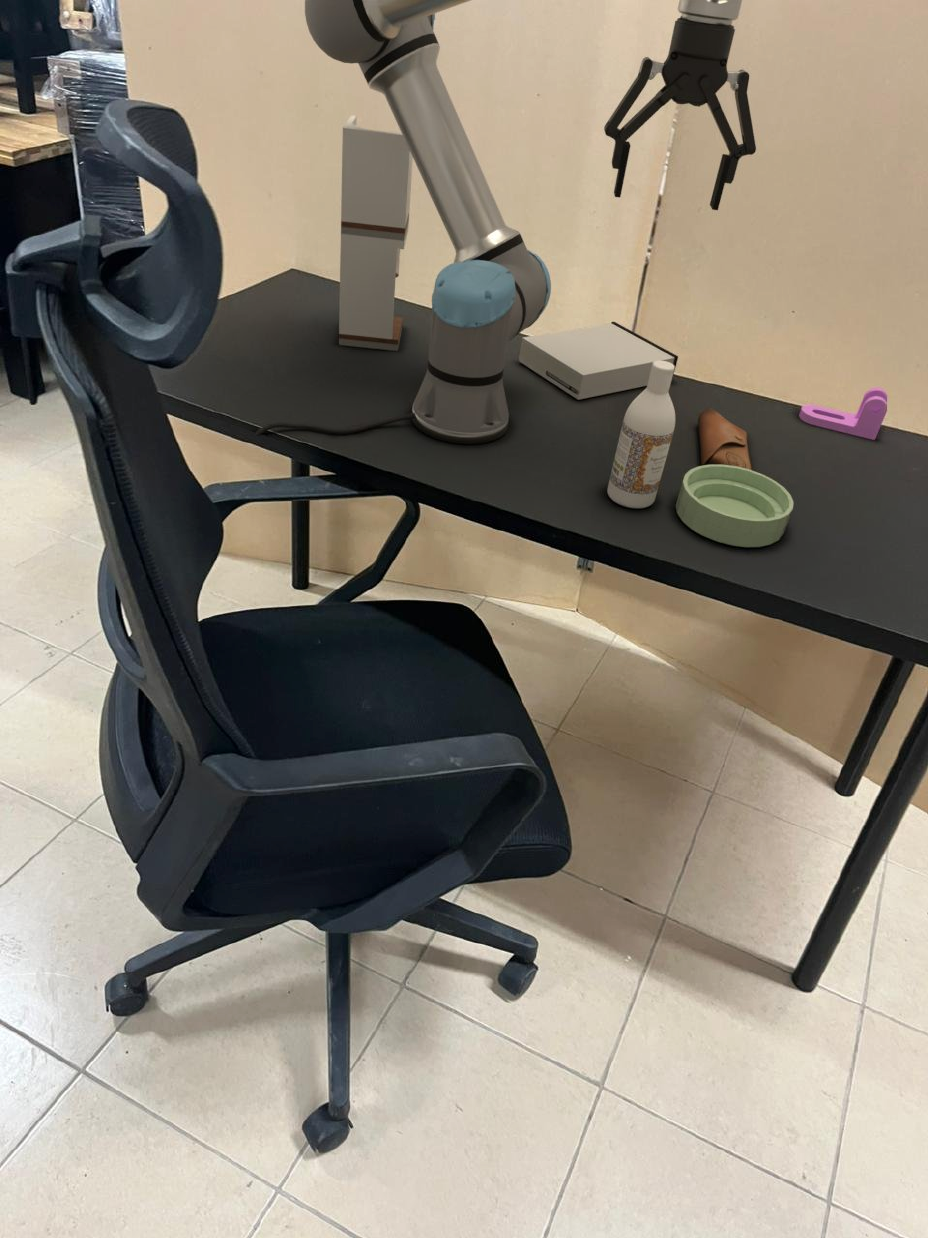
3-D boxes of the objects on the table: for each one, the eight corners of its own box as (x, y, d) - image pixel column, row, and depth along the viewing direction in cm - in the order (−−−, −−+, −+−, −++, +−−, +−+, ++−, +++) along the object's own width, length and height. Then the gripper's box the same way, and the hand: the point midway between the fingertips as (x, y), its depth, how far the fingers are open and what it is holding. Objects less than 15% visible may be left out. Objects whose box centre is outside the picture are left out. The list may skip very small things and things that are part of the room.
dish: (681, 540, 121) (690, 512, 118) (669, 485, 133) (677, 458, 130) (793, 555, 121) (804, 527, 118) (771, 498, 133) (781, 471, 130)
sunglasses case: (757, 482, 135) (745, 444, 132) (710, 496, 138) (698, 459, 135) (746, 431, 150) (735, 395, 146) (704, 444, 152) (693, 410, 149)
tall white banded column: (397, 350, 162) (410, 135, 141) (338, 344, 162) (342, 127, 140) (402, 328, 171) (414, 122, 150) (346, 322, 171) (351, 114, 149)
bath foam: (628, 514, 125) (662, 378, 113) (596, 490, 129) (626, 357, 117) (664, 504, 128) (701, 371, 116) (632, 481, 133) (665, 351, 120)
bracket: (874, 427, 158) (890, 390, 153) (874, 440, 153) (890, 402, 149) (800, 409, 161) (813, 372, 156) (797, 421, 156) (811, 383, 152)
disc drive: (672, 382, 164) (679, 355, 161) (578, 401, 153) (584, 373, 150) (609, 346, 175) (614, 321, 172) (517, 362, 164) (521, 335, 161)
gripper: (609, 8, 109) (577, 195, 122) (812, 35, 109) (758, 219, 122) (605, 4, 115) (576, 183, 128) (798, 29, 115) (749, 205, 128)
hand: (665, 201), depth 125 cm, fingers open, 13 cm apart
